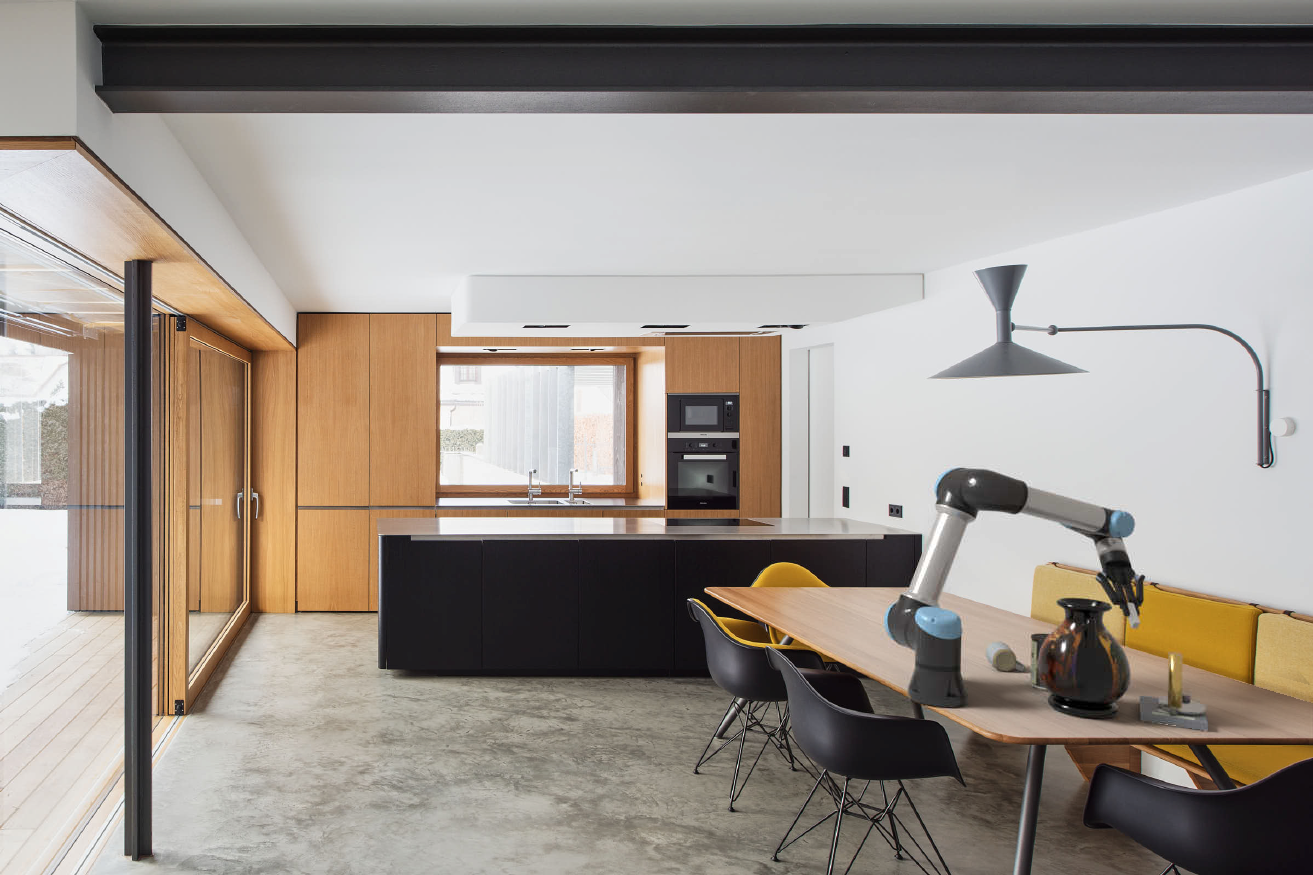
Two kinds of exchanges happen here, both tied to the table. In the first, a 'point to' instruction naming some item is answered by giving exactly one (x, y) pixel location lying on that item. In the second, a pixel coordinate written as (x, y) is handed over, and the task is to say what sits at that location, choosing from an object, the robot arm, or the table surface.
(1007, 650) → the ceramic mug
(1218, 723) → the table surface
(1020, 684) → the table surface
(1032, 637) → the coffee can
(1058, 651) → the brown glazed vase
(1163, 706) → the lever
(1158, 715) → the grey crank mechanism
